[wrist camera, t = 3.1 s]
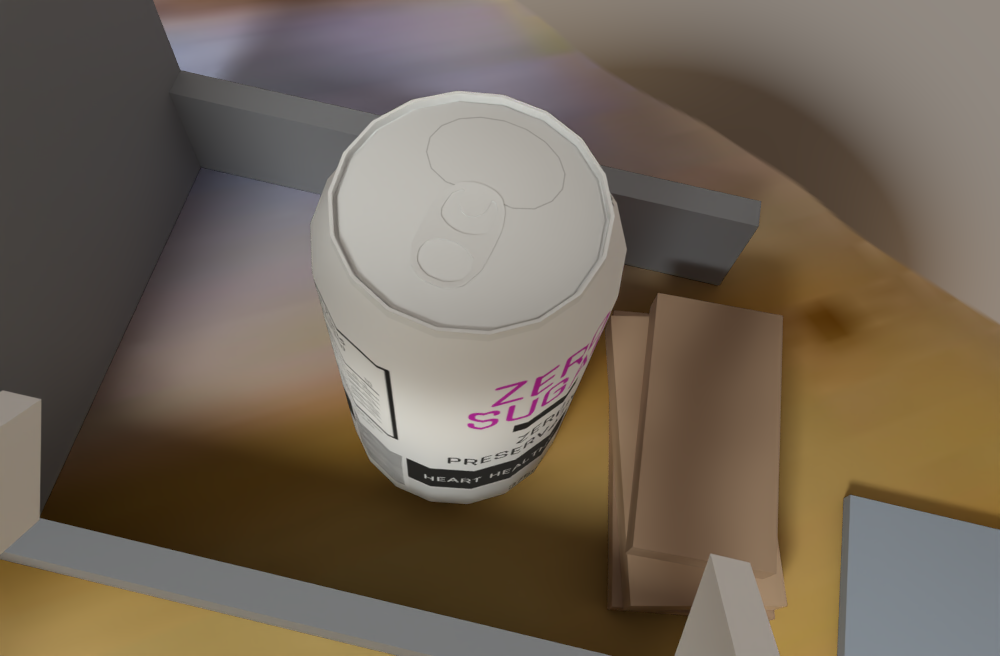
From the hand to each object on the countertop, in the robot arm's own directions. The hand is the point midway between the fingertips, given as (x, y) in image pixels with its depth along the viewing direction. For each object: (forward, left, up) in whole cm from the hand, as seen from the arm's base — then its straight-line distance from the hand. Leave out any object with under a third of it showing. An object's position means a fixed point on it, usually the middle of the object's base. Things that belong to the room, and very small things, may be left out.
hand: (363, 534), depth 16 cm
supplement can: (0, -8, -16) cm, 18 cm away
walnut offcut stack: (-10, -8, -16) cm, 21 cm away
